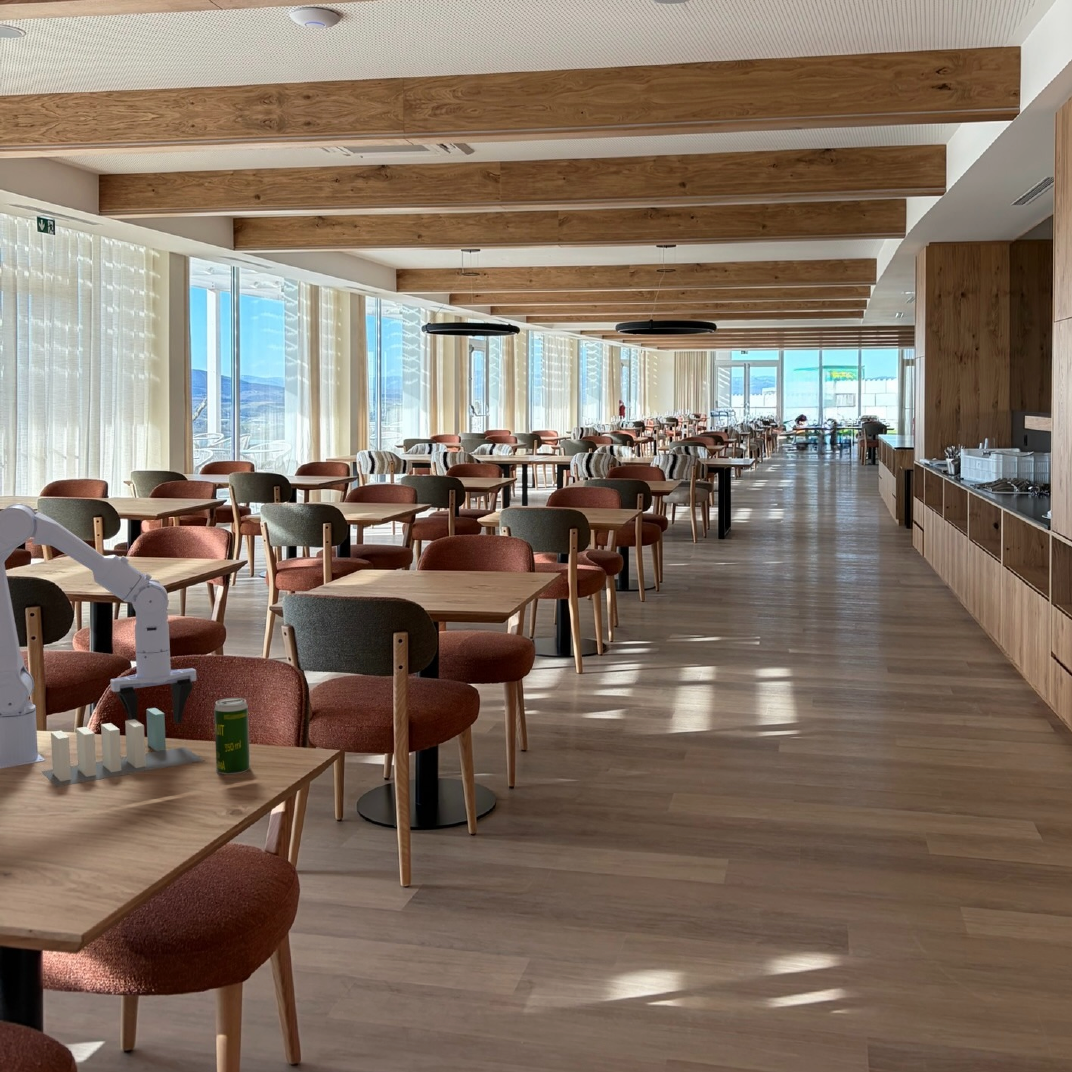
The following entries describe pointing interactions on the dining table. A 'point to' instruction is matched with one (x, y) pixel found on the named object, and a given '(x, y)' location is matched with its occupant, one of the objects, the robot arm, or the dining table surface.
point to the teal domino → (156, 729)
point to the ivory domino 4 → (135, 743)
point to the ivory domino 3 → (111, 747)
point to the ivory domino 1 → (60, 755)
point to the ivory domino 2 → (86, 751)
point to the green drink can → (232, 736)
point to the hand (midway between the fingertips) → (156, 725)
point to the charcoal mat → (129, 766)
